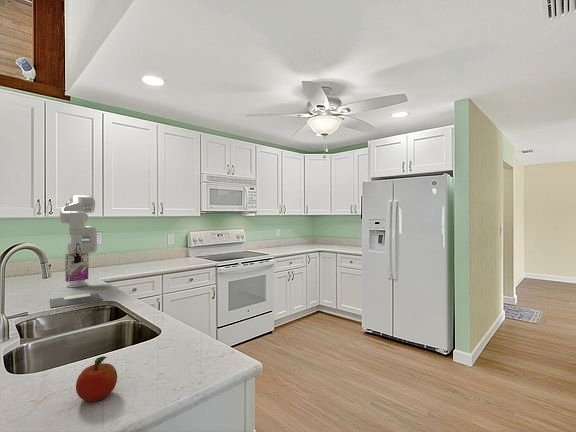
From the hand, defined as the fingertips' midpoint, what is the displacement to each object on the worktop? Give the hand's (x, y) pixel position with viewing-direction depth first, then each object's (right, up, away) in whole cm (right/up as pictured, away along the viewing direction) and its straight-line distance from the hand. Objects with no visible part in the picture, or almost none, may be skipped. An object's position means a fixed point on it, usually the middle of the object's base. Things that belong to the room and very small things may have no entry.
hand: (77, 261), depth 184 cm
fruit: (+76, -21, -102) cm, 129 cm away
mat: (+4, -21, -6) cm, 23 cm away
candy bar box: (0, -11, 0) cm, 11 cm away
